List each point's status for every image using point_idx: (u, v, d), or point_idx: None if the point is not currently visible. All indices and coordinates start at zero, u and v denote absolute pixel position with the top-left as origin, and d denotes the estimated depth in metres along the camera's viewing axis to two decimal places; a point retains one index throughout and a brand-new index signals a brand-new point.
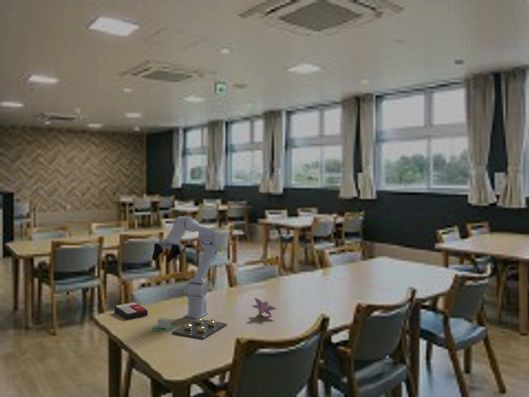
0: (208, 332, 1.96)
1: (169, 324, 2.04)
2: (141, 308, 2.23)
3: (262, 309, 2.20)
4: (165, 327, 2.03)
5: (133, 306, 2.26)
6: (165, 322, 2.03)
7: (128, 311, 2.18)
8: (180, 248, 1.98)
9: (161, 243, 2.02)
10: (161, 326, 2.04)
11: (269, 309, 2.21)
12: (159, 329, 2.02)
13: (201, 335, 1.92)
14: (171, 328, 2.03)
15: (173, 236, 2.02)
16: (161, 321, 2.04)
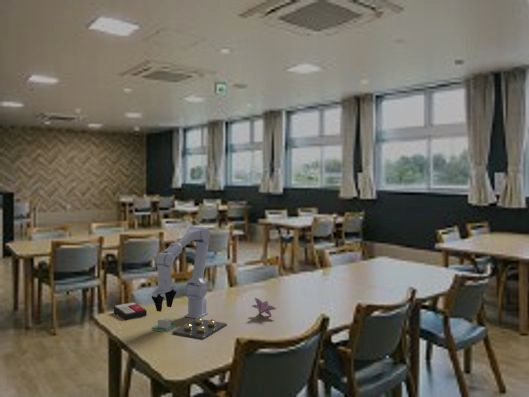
0: (208, 332, 1.96)
1: (169, 324, 2.04)
2: (140, 308, 2.23)
3: (262, 309, 2.20)
4: (165, 327, 2.03)
5: (132, 306, 2.25)
6: (165, 322, 2.03)
7: (127, 311, 2.18)
8: None
9: None
10: (161, 326, 2.04)
11: (269, 309, 2.22)
12: (159, 329, 2.02)
13: (201, 335, 1.92)
14: (171, 328, 2.03)
15: None
16: (161, 321, 2.04)
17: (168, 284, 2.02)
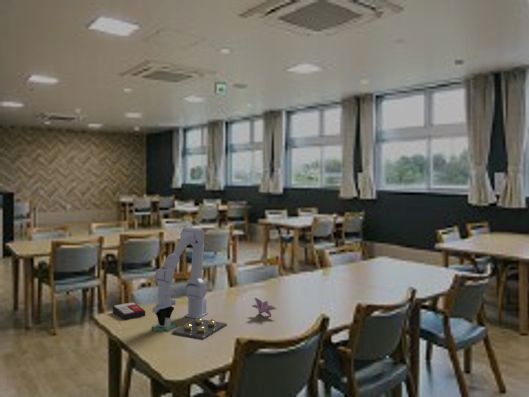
0: (208, 332, 1.96)
1: (169, 323, 2.04)
2: (139, 308, 2.23)
3: (262, 309, 2.20)
4: (165, 326, 2.03)
5: (131, 306, 2.25)
6: (165, 321, 2.03)
7: (125, 311, 2.18)
8: None
9: None
10: (161, 325, 2.04)
11: (269, 309, 2.22)
12: (159, 328, 2.02)
13: (201, 335, 1.92)
14: (171, 327, 2.03)
15: None
16: None
17: (168, 299, 2.03)
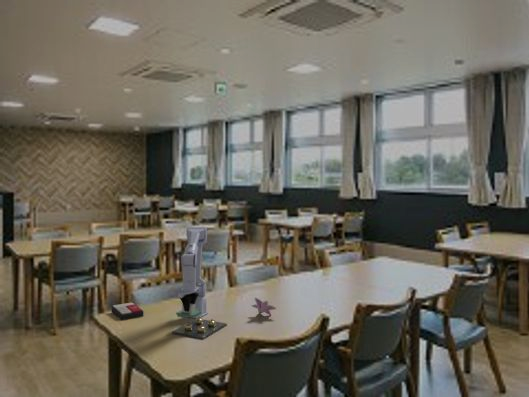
0: (208, 332, 1.96)
1: (194, 309, 2.03)
2: (137, 308, 2.22)
3: (262, 309, 2.21)
4: (190, 312, 2.01)
5: (130, 306, 2.25)
6: (190, 307, 2.01)
7: (123, 311, 2.18)
8: None
9: None
10: (186, 311, 2.02)
11: (269, 309, 2.22)
12: (184, 314, 2.00)
13: (201, 335, 1.92)
14: (196, 313, 2.01)
15: None
16: None
17: (193, 285, 2.01)
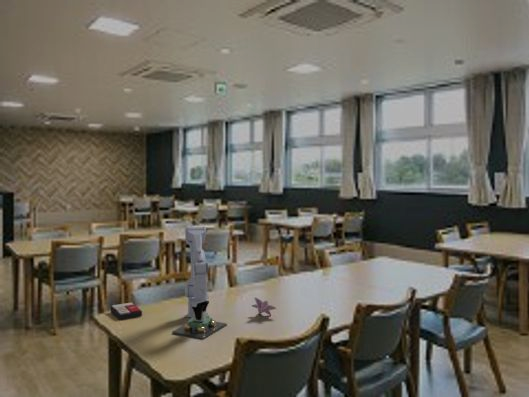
0: (208, 332, 1.96)
1: (205, 317, 2.03)
2: (136, 308, 2.22)
3: (262, 309, 2.21)
4: (202, 320, 2.01)
5: (128, 306, 2.25)
6: (202, 315, 2.01)
7: (122, 311, 2.18)
8: None
9: None
10: None
11: (269, 309, 2.22)
12: (196, 323, 1.99)
13: (201, 335, 1.92)
14: (208, 321, 2.01)
15: (194, 292, 2.01)
16: None
17: (205, 293, 2.01)
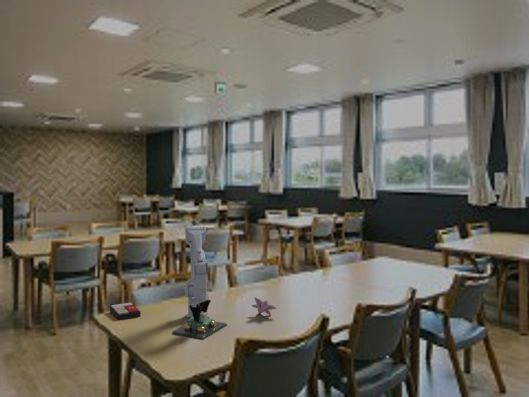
0: (208, 332, 1.96)
1: (206, 317, 2.03)
2: (134, 309, 2.22)
3: (262, 308, 2.21)
4: (202, 321, 2.01)
5: (127, 306, 2.25)
6: (203, 316, 2.01)
7: (120, 311, 2.18)
8: None
9: None
10: None
11: (269, 308, 2.22)
12: (197, 322, 1.99)
13: (201, 335, 1.92)
14: (208, 322, 2.02)
15: (194, 292, 2.01)
16: None
17: (205, 293, 2.01)
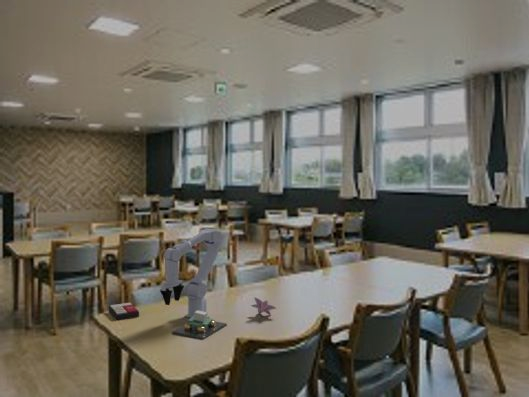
0: (208, 332, 1.96)
1: (206, 317, 2.03)
2: (133, 309, 2.22)
3: (262, 308, 2.21)
4: (202, 321, 2.01)
5: (126, 306, 2.25)
6: (203, 316, 2.01)
7: (119, 311, 2.18)
8: None
9: None
10: (198, 319, 2.02)
11: (269, 308, 2.23)
12: (197, 322, 1.99)
13: (201, 335, 1.92)
14: (208, 322, 2.02)
15: (166, 277, 2.11)
16: (198, 315, 2.01)
17: (176, 278, 2.10)
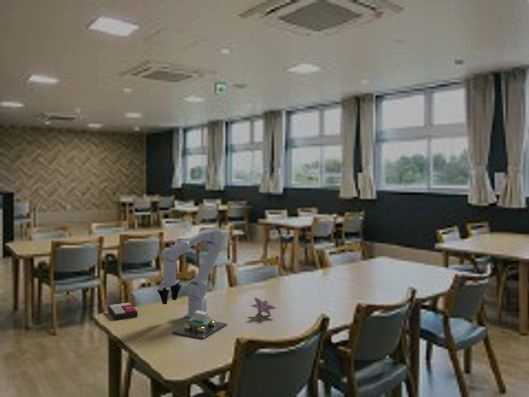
0: (208, 332, 1.96)
1: (206, 317, 2.03)
2: (131, 309, 2.22)
3: (262, 308, 2.21)
4: (202, 321, 2.01)
5: (125, 306, 2.25)
6: (203, 316, 2.01)
7: (117, 311, 2.18)
8: None
9: None
10: (198, 319, 2.02)
11: (268, 308, 2.23)
12: (197, 322, 1.99)
13: (201, 335, 1.92)
14: (208, 322, 2.02)
15: None
16: (198, 315, 2.01)
17: (173, 278, 2.11)
